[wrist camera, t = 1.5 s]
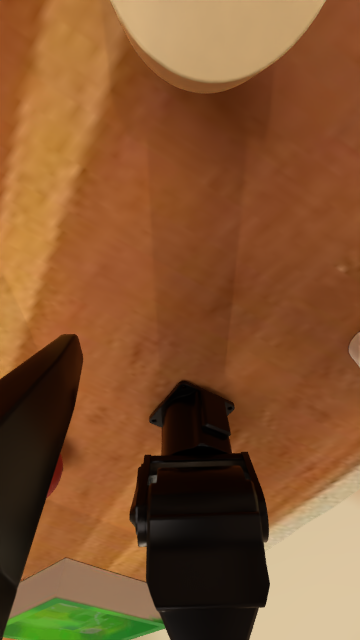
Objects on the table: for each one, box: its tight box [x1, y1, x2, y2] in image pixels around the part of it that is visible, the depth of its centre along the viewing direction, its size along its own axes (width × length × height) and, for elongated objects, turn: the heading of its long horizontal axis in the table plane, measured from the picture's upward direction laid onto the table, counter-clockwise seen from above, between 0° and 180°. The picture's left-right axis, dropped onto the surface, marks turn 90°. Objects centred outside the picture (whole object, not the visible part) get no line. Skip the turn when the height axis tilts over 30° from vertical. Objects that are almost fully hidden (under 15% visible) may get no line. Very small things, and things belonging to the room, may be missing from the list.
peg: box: [110, 0, 326, 93], centre depth 11 cm, size 6×6×10 cm
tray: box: [3, 558, 165, 640], centre depth 56 cm, size 25×25×5 cm
